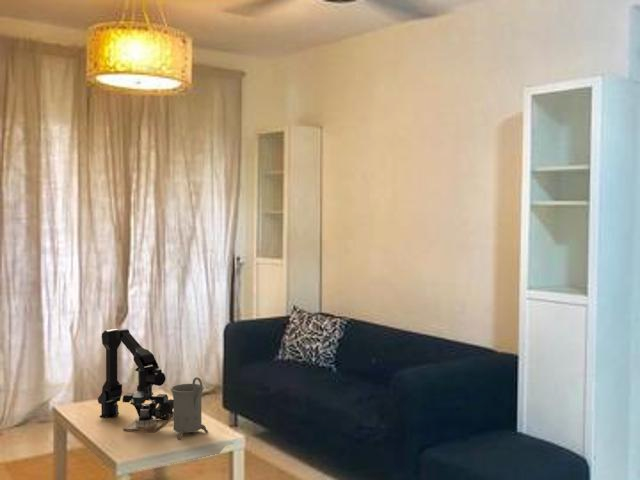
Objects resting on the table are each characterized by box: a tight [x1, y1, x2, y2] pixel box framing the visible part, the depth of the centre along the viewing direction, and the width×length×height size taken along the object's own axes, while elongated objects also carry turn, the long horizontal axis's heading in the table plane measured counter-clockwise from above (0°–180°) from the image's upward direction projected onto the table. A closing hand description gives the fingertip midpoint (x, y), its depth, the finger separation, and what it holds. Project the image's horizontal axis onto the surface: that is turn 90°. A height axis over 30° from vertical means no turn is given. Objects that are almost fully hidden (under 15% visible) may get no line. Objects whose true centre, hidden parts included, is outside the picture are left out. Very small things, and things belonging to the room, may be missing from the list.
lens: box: [140, 403, 151, 421], centre depth 289 cm, size 5×5×7 cm
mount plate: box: [123, 416, 168, 433], centre depth 289 cm, size 14×14×4 cm
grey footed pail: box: [170, 376, 209, 441], centre depth 279 cm, size 19×15×25 cm
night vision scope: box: [153, 398, 174, 421], centre depth 302 cm, size 8×18×10 cm
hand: (145, 417), depth 289 cm, fingers closed on lens, 4 cm apart
